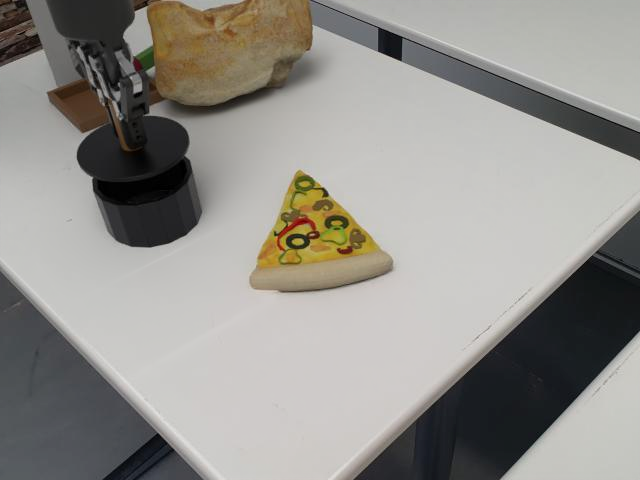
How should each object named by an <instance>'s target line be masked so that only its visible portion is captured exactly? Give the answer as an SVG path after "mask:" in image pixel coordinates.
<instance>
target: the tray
mask: <svg viewBox="0 0 640 480" xmlns="http://www.w3.org/2000/svg"><path fill="white" fill-rule="evenodd" d="M96 75H97V74H96ZM148 77H149V107H151V106H154V105H156V104H158V103H161V102H164V101H166V100H168V99H167V98H164V97H162V96H161V95H160V93H159V92H158V90H157V87H156V81H155V79H153V77H151V76H149V75H148ZM46 95H47V98H48V100H49V102H50V104H52V106H53V107H55V109H57V111H59V112H60V113H61V114H62V115H63V116H64V117H65V118H66V119H67V120H68V121H69V122H70V123H71V124H72V125H73V126H74V127H75V128H76V129H77V130H78V131H79V132H80V133H81V134H85V133H88V132H90V131H92V130H93V131H94V130H96V129H98V128H100V127H101V126H103V125H106V124H108V123H110V121H109V118H108V115H107V112H106V108H105V106H103V105H102V103H101V102H100V101H99V96H98V93H96V94H94V93H93V91H91V89H90V85H89V83H88V81H87V79H86V78H83V79H80V80H78V81H75V82H72V83H70V84H67V85H64V86H62V87H59V88H58V87H57V88H54V89H51V90H49V91H46Z"/></svg>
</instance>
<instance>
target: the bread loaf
mask: <svg viewBox="0 0 640 480" xmlns="http://www.w3.org/2000/svg"><path fill="white" fill-rule="evenodd" d="M145 11H146V18H147V22H148V25H149V28H150V34H151V40H152V45H153V47H154V62H155V66H154V80H155V81H156V87H157V90H158V92H159V93H160V95H161V96H162V97H164V98H167V99H166V100H171V101H175V102H177V103H179V104H182V105H185V106H208V107H210V106H215V105H220V104H222V103H223V104H224V103H225V102H228V101H230V100H232V99H235V98H236V97H239V96H243V95H246V94H247V95H248V94H252V93H254V92H255V91H257V90H260V89H262V88H279V87H281V86H282V85H283V84H284V83H286V81H287V78H288V77H289V76H290V75H289V74H290V73H291V70H292V68H293V66H294V64H295V63H296V62H297V61H299V60H300V59H301V58H302V57H303V56H304V54H305V53H306V52H308V51H311V49H312V45H313V41H314V35H313V29H314V25H313V17H312V12H311V6H310V2H309V0H242V1H241V2H236V3H228V4H223V5H220V6H216V7H210V8H207V9H205V10H203V11H201V10H200V9H197V8H193V7H192V6H189V5H187V4H185V3H183V2H181V1H179V0H158V1H157V0H156V1H153V2H150V4H148V5H147V7H146V9H145Z"/></svg>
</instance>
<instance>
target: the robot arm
mask: <svg viewBox="0 0 640 480" xmlns="http://www.w3.org/2000/svg"><path fill="white" fill-rule="evenodd" d="M46 3H47V6H48V9H49V12H50V15H51V18H52V21H53V23H54V26H55V29H56V31H57V32H58V33H59V34H60V35H61V36H63V37H65V38H67V39H68V40H69V44H70V45H71V47H72V49H73V51H74V53H75V55H76V57H77V60H78V62H79V64H80V66H81V68H82V70H83V72H84V75H85V77H86V79H87V81H88V83H89V85H90V89H91V91H93V93H94V94H96V93H98V96H99V101H100V102H101V103H102V105H103V106H105V108H106V112H107V115H108V118H109V121H110V124H111V127H112V130H113V133H114V135H115V136H116V137H117V138H119V136H118V133H117V130H116V126H115V123H114V120H113V117H112V113H111V110H110V107H109V104H108V99H110V100H112V103H113V106H114V109H115V112H116V116H117V118H118V121H119V124H120V127H121V130H122V133H123V137H124V140H125V143H126V146H127V147H128V148H129V149H131V150H135V149H137V148H139V147H142V146H144V145H146V144H147V137H146V133H145V129H144V126H143V122H142V119H141V116H148V115H149V114H150V106H149V77H150V76H149V74H148V72H147V71H145V70H144V69H143V70H140V71H138V72H136V71H135V69H134V66H133V60H134V58H133V56H134V55H133V51H132V48H131V46H130V45H129V43H128V42H126V39H125V38H124V35H125V32H126V31H127V29H128V28H129V27H130V26H132V24H133V23H134V22H135V18H136V11H135V8H134V3H133V0H46ZM96 74H97V75H96ZM148 76H149V77H148ZM120 98H121V102H120Z"/></svg>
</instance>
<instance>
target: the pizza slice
mask: <svg viewBox="0 0 640 480" xmlns="http://www.w3.org/2000/svg"><path fill="white" fill-rule="evenodd" d="M393 263H394V259H393V258H392V256H391V255H390V254H389V253H388V252H386V251H384V250H383V249H381V248H380V245H379V244H378V243H377V242H376V241H375V240H374V238H373V237H372V236H371V234H370V233H369V232H368V231H366V230H365V229H364V228H363V227H361V225H360V224H359V223H358V222H357V221H356V220H355V219H354V217H353V216H352V215H351V214H350V212H348V211H347V210H346V209H345V208H344V207H343V206H342V205H340V204H339V203H338V202H337V201H336V200H335V199H334V198H333V197H332V196H331V195H330V193H329V191H328V190H327V188H325V187H322V185H321V184H320V183H319V182H317V180H315V179H314V178H313V177H312V176H310V175H309V174H306V172H304V171H303V170H301V169H298V170H297V171H296V172H295V174H294V176H293V179H292V180H291V182H290V184H289V186H288V188H287V191H286V192H285V195H284V199H283V202H282V206H281V209H280V211H279V213H278V215H277V218H276V221H275V224H274V225H273V227H272V228H271V230H270V232H269V234H268V236H267V238H266V240H265V241H264V242H263V244H262V246H261V248H260V250H259V253H258V256H257V257H256V266H255V268H254V270H252V273H251V274H250V276H249V285H250V287H251V288H252V289H254V290H258V291H277V292H301V291H313V290H323V289H330V288H337V287H340V286H345V285H348V284H352V283H356V282H360V281H364V280H368V279H372V278H374V277H378V276H381V275H383V274H386V273H387V272H388V271H390V270H392V268H393V265H394V264H393Z"/></svg>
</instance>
